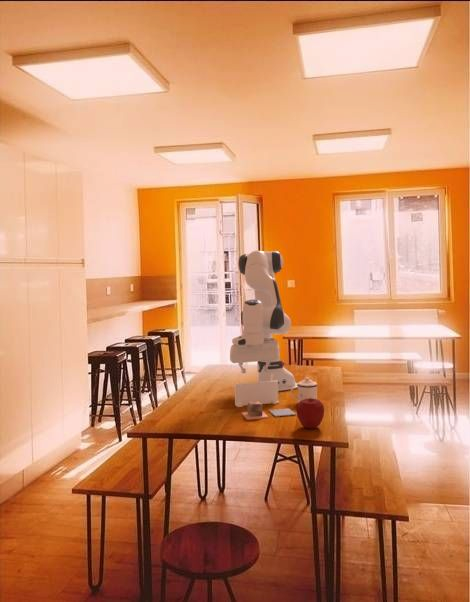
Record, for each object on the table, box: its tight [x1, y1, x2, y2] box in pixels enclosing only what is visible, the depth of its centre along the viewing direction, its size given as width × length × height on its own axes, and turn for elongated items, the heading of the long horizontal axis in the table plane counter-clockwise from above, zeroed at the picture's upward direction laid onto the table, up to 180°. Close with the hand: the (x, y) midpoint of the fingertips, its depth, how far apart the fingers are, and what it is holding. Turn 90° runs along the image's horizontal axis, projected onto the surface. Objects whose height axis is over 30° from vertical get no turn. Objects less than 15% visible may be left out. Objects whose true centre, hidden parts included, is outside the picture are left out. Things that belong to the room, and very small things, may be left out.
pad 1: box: [241, 410, 269, 421], centre depth 216 cm, size 9×9×1 cm
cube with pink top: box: [246, 401, 263, 417], centre depth 215 cm, size 5×5×5 cm
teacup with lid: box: [290, 377, 318, 404], centre depth 234 cm, size 12×9×12 cm
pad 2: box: [268, 408, 297, 418], centre depth 218 cm, size 9×9×1 cm
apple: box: [295, 398, 325, 430], centre depth 198 cm, size 11×11×12 cm
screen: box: [234, 380, 280, 408], centre depth 234 cm, size 20×5×10 cm, turn 103°
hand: (254, 372), depth 215 cm, fingers open, 8 cm apart
